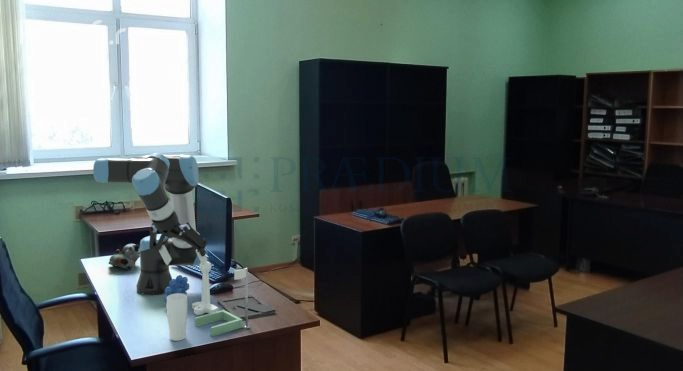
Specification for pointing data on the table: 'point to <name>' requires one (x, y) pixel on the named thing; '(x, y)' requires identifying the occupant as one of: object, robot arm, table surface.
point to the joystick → (204, 293)
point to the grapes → (177, 286)
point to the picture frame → (254, 306)
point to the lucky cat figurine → (126, 257)
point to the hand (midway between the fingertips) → (186, 262)
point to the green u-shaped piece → (231, 324)
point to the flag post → (244, 274)
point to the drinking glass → (177, 316)
